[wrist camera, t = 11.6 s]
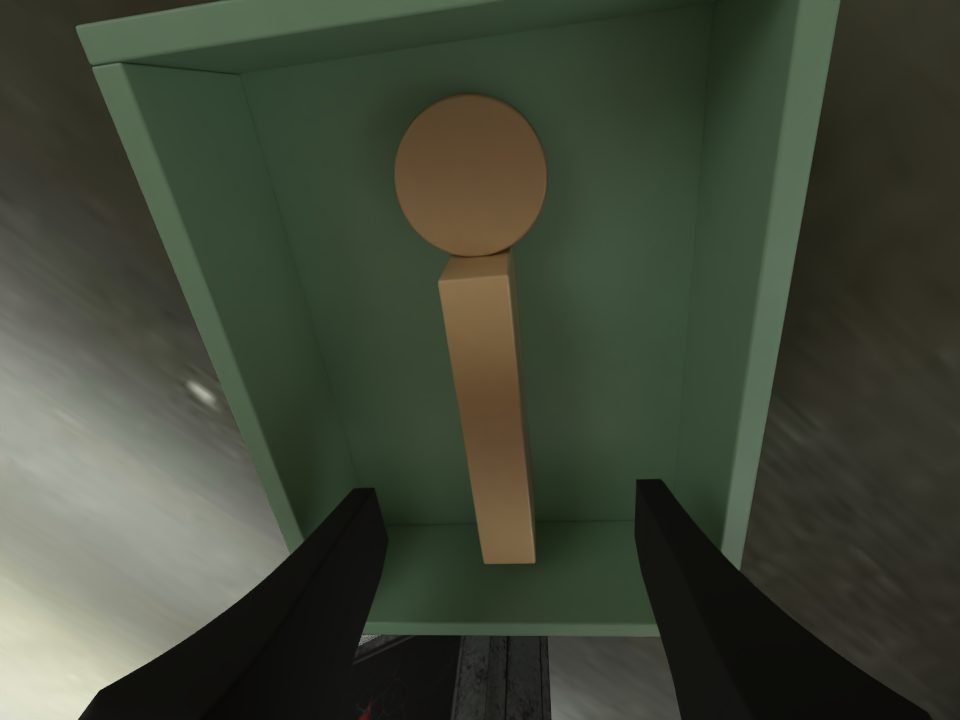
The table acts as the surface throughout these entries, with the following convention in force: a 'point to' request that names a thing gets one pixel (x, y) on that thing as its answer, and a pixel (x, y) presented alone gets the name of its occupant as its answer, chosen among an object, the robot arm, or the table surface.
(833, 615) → the table surface
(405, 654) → the camera
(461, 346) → the spoon
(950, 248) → the table surface
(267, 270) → the green storage tray
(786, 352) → the table surface
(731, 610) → the robot arm
